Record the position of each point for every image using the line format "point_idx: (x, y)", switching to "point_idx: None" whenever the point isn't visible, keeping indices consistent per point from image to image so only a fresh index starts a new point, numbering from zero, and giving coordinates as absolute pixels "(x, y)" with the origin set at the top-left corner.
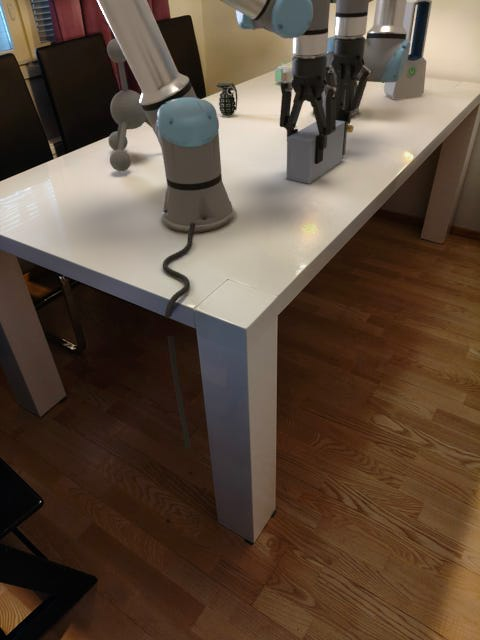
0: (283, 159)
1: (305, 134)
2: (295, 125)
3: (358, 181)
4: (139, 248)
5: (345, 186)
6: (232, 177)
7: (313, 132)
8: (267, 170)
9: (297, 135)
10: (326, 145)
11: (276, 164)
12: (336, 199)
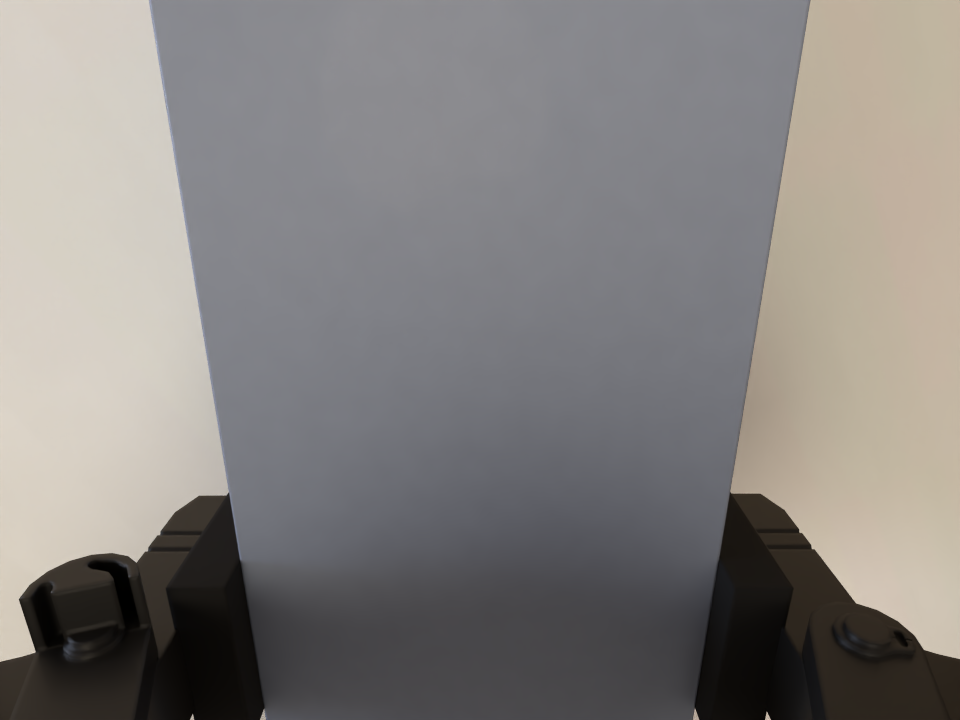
0: (28, 82)
1: (448, 628)
2: (146, 654)
3: (951, 247)
4: None
5: (867, 390)
6: (21, 622)
7: (519, 495)
8: (123, 404)
9: (365, 714)
10: (787, 524)
11: (79, 245)
12: (863, 597)
